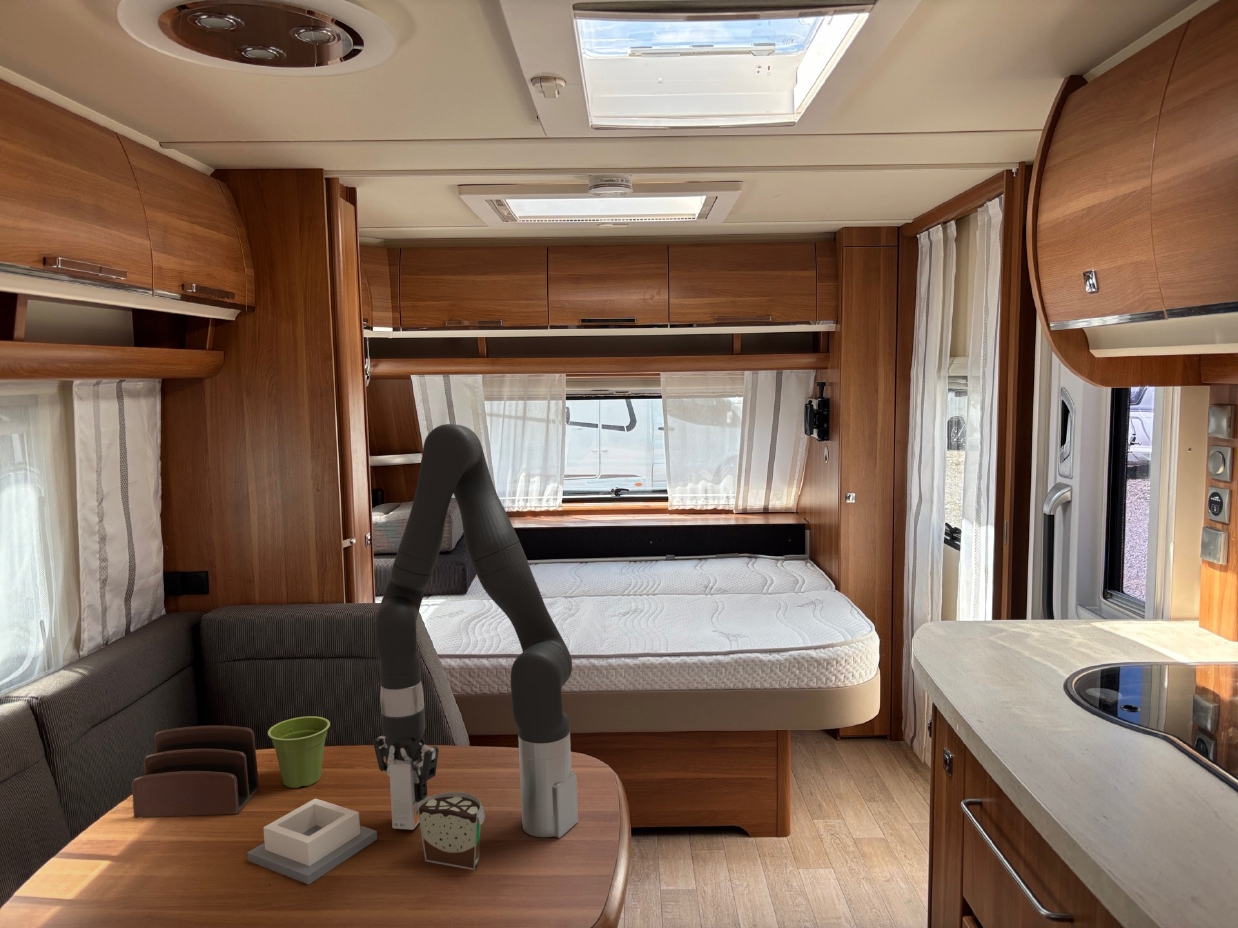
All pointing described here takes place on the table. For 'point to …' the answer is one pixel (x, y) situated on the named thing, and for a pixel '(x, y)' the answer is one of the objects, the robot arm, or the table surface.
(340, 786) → the table surface
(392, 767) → the skincare box
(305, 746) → the plant pot
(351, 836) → the box stand
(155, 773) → the letter holder
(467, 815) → the food container
